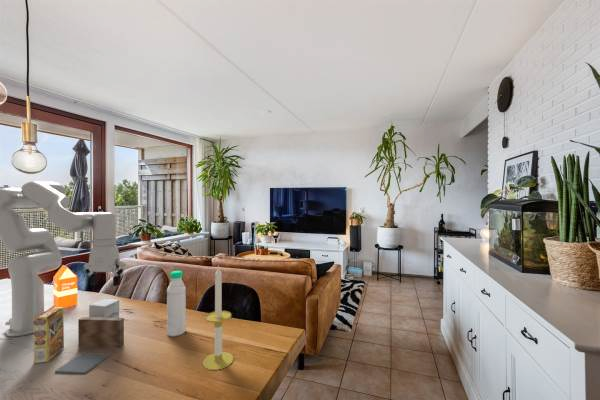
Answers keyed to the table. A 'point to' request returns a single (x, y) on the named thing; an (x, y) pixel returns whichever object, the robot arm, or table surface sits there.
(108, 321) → the walnut screen
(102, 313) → the supplement box
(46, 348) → the candy box
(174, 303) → the water bottle
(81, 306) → the table surface
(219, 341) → the candle
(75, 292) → the orange juice
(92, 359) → the mat
